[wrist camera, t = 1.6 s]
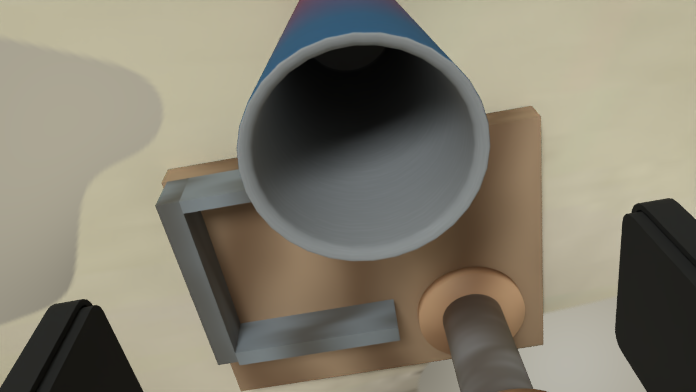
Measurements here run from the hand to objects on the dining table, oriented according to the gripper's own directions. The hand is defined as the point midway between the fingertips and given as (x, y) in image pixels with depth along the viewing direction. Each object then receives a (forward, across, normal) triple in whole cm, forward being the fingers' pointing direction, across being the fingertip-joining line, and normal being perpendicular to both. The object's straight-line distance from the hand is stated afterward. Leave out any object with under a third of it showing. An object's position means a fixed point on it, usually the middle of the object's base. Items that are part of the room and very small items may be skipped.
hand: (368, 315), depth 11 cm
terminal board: (+21, 0, +14) cm, 25 cm away
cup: (+21, -1, 0) cm, 21 cm away
